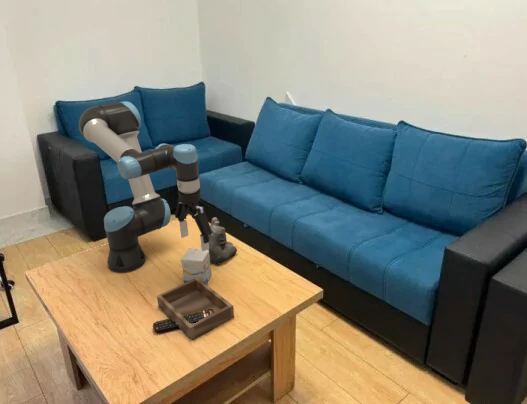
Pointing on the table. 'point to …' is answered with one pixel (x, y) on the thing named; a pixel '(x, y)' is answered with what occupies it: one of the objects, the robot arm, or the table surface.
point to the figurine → (219, 244)
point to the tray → (195, 307)
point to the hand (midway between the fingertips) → (194, 243)
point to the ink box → (196, 265)
